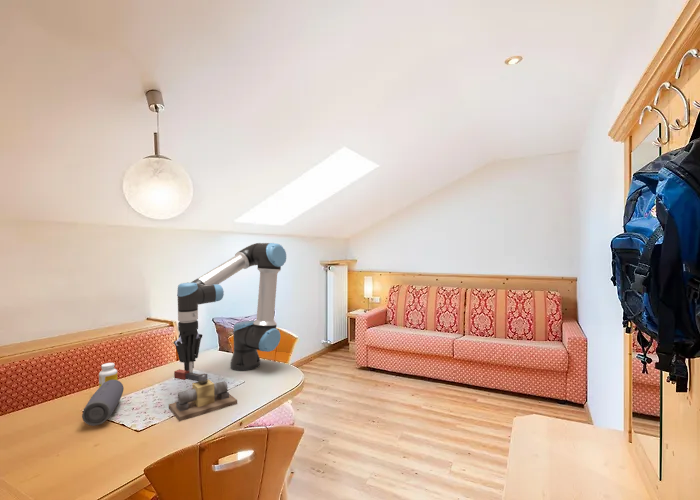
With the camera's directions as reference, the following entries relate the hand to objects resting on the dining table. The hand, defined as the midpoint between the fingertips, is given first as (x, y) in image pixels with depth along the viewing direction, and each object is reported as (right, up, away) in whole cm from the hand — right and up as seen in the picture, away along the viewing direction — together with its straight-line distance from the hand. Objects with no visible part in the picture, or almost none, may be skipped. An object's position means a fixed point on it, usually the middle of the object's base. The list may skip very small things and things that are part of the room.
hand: (189, 377), depth 152 cm
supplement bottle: (-37, -10, +6) cm, 39 cm away
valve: (+8, -10, -5) cm, 13 cm away
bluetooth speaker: (-27, -10, -12) cm, 31 cm away
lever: (+2, 0, -3) cm, 4 cm away
